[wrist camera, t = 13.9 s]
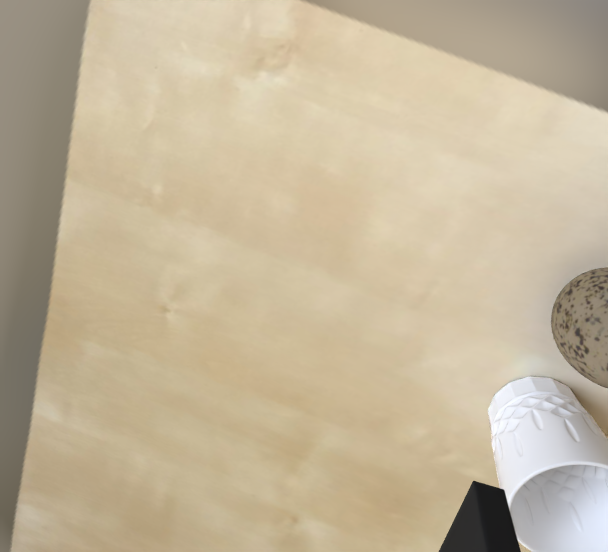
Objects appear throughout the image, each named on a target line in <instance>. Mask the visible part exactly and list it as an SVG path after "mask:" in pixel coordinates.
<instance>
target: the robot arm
mask: <svg viewBox="0 0 608 552" xmlns="http://www.w3.org/2000/svg"><path fill="white" fill-rule="evenodd" d="M439 552H521V551H520V548H519V544H518V540H517V536H516V532H515V529H514V525H513V521H512V517H511V513H510V510H509V506H508V502H507V498H506V494H505V491H504V489H500V488H497V487H493V486H490V485H486V484H483V483H479V482H476V481H473V482H472V484H471V487H470V489H469V491H468V493H467V495H466V497H465V499H464V501H463V503H462V505H461V507H460V509H459V511H458V513H457V515H456V517H455V519H454V521H453V524H452V526H451V528H450V530H449V532H448V534H447V536H446V538H445V540H444V542H443V544H442V546H441V548H440V550H439Z"/></svg>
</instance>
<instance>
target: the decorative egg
mask: <svg viewBox="0 0 608 552" xmlns="http://www.w3.org/2000/svg"><path fill="white" fill-rule="evenodd" d="M551 326H552V333H553V336H554V340H555V342H556V344H557V347H558V349H559V350H560V352H561V354H562V355H563V356H564V358H565V359H566V360H567V362H568V363H569V364H570V365H571V366H572V367H573V368H574V369H575V370H577V371H578V372H579V373H580V374H582V375H583V376H584V377H586V378H587V379H589V380H591V381H592V382H594V383H596V384H598V385H600V386H603V387H605V388H608V268H600V269H595V270H591V271H588V272H586V273H583V274H581V275H579V276H577V277H576V278H574V279H573V280H572V281H571V282H569V283H568V284H567V285H566V286H565V287H564V288H563V290H562V291H561V292H560V294H559V295H558V297H557V299H556V301H555V304H554V307H553V311H552V318H551Z"/></svg>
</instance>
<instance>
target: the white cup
mask: <svg viewBox="0 0 608 552" xmlns="http://www.w3.org/2000/svg"><path fill="white" fill-rule="evenodd" d="M488 416H489V424H490V430H491V434H492V439H491V442H492V447H493V454H494V459H495V463H496V471H497V476H498V480H499V485H500V489H504V491H505V494H506V498H507V502H508V506H509V510H510V513H511V517H512V521H513V525H514V529H515V532H516V536H517V540H518V541H519V542H520V543H521V544H522V545H523V546H524V547H526V548H527V549H529V550H530V551H532V552H608V438H607V437H606V436H605V435H604V433H603V432H602V430H601V429H600V427H599V426H598V425H597V423H596V422H595V421H594V419H593V418H592V416H591V415H590V414H589V413H588V412H587V411H586V410H585V409H584V408H583V406H582V405H581V403H580V402H579V400H578V399H577V398H576V396H575V395H574V393H573V392H572V391H571V389H570V388H569V387H568V386H566V385H564V384H562V383H560V382H558V381H556V380H554V379H552V378H545V377H532V376H529V377H526V378H522V379H519V380H516V381H512V382H509V383H508V384H507V385H506V386H504V387H503V388H502V389H501V390H499V391H498V392H497V393H496V394H495V395H494V397H493V399H492V402H491V404H490V406H489V408H488Z"/></svg>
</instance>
